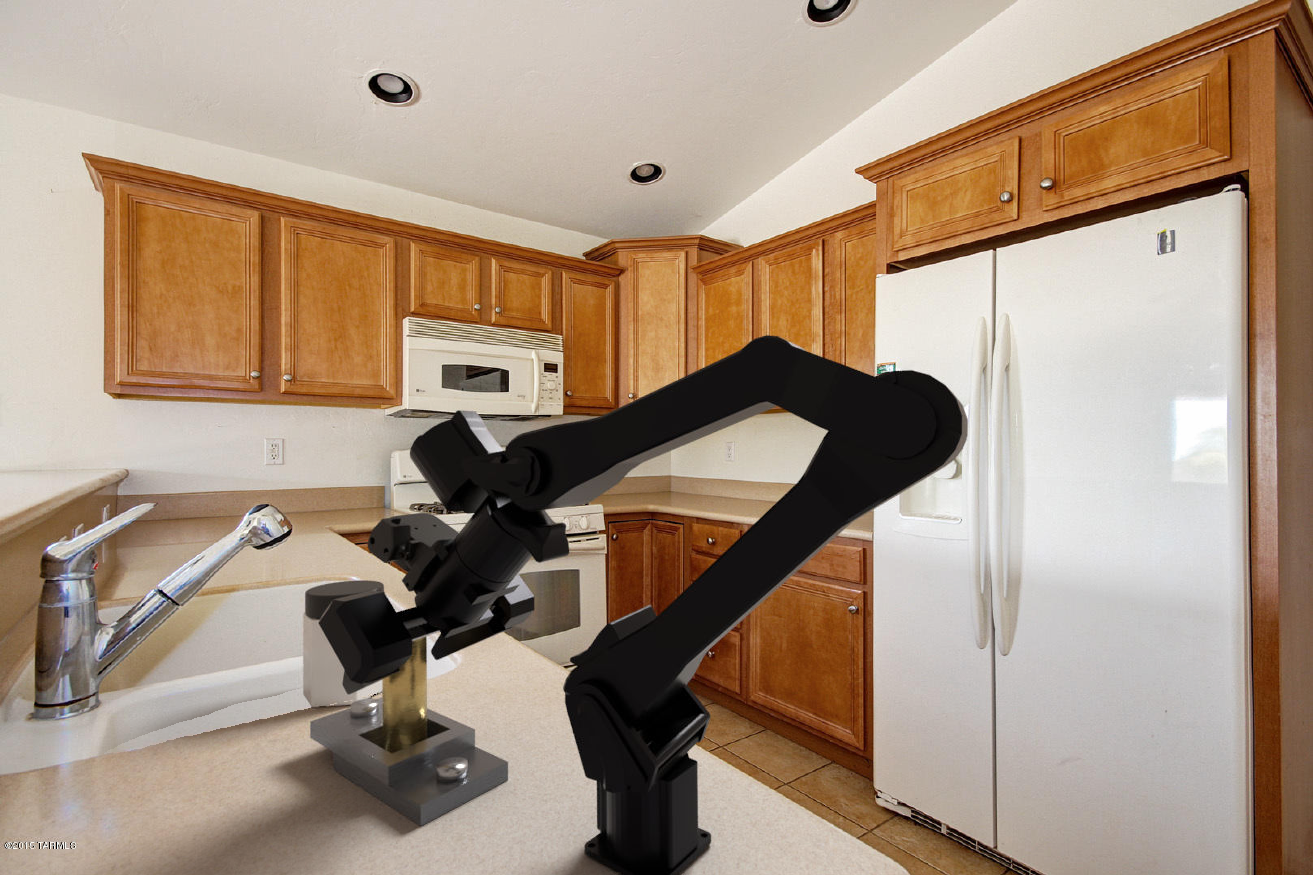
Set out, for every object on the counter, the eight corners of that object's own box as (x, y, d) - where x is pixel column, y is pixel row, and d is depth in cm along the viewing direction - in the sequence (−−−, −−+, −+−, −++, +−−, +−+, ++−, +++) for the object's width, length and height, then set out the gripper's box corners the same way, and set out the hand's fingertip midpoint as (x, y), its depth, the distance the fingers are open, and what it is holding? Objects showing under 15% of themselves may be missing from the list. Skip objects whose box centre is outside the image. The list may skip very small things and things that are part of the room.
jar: (395, 695, 71) (395, 588, 71) (314, 715, 65) (314, 600, 66) (372, 673, 78) (372, 576, 78) (298, 690, 72) (297, 586, 73)
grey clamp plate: (508, 779, 52) (507, 733, 52) (420, 826, 46) (420, 773, 46) (393, 723, 63) (393, 685, 63) (310, 754, 57) (310, 712, 57)
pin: (435, 758, 56) (434, 612, 56) (410, 779, 52) (409, 623, 53) (400, 754, 57) (399, 610, 57) (373, 774, 53) (373, 621, 54)
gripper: (510, 477, 61) (430, 580, 66) (334, 489, 45) (246, 625, 50) (577, 564, 58) (487, 666, 63) (412, 612, 41) (307, 746, 46)
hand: (393, 671), depth 55 cm, fingers open, 9 cm apart
